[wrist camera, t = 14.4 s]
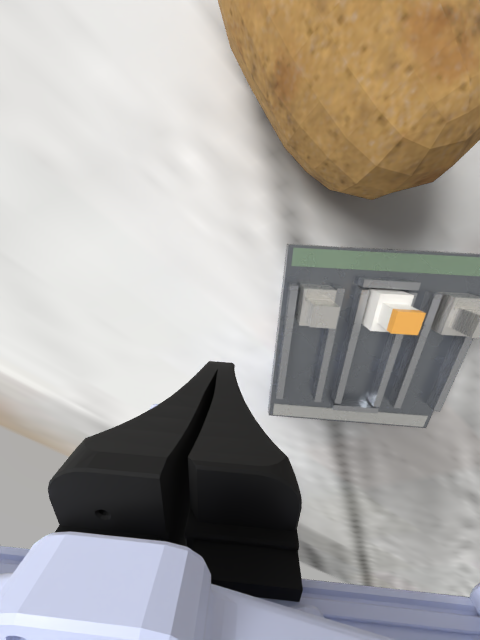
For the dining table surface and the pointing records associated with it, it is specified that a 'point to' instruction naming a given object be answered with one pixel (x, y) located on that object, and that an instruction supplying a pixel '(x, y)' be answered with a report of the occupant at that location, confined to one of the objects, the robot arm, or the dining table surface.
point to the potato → (364, 85)
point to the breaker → (392, 312)
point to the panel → (370, 334)
